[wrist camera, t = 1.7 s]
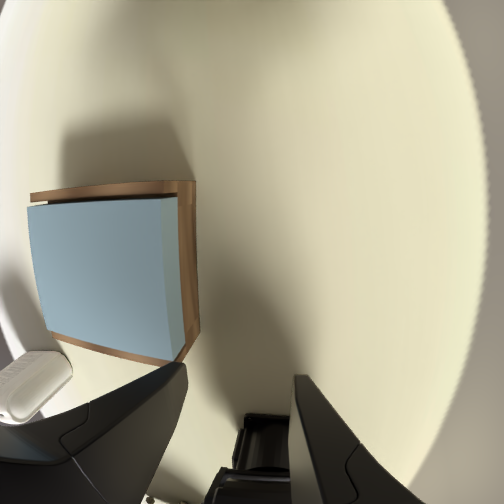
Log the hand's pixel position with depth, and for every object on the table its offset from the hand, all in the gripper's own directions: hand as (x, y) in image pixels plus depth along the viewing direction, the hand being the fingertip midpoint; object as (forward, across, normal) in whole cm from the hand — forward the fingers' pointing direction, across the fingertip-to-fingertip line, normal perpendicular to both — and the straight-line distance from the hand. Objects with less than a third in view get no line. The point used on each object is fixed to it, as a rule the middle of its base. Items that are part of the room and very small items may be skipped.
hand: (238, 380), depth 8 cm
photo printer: (+13, +28, +15) cm, 34 cm away
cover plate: (+10, +12, 0) cm, 15 cm away
